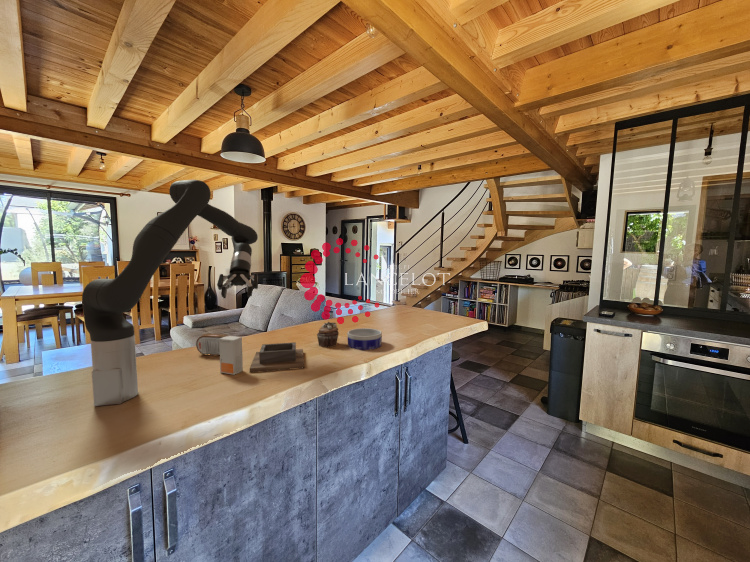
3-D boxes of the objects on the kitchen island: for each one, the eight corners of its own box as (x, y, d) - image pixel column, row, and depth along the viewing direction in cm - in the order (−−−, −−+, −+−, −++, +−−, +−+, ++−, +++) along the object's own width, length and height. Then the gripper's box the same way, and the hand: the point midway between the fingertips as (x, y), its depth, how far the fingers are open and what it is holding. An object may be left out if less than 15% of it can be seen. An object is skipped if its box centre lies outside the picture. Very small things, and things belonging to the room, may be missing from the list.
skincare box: (219, 373, 104) (218, 338, 103) (229, 368, 108) (227, 335, 107) (234, 375, 102) (233, 340, 101) (243, 370, 106) (242, 336, 105)
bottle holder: (303, 368, 109) (303, 352, 108) (249, 372, 104) (249, 356, 104) (303, 352, 126) (302, 339, 126) (256, 355, 122) (256, 342, 121)
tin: (235, 354, 124) (234, 333, 123) (231, 357, 120) (230, 336, 120) (200, 353, 125) (199, 332, 124) (195, 355, 122) (194, 334, 121)
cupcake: (323, 340, 144) (323, 319, 143) (342, 342, 141) (342, 321, 140) (312, 346, 135) (312, 324, 134) (332, 348, 132) (332, 325, 131)
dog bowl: (355, 339, 147) (355, 326, 147) (385, 342, 143) (385, 329, 142) (341, 348, 133) (341, 334, 132) (375, 351, 128) (375, 337, 128)
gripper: (219, 258, 121) (213, 291, 110) (258, 258, 124) (255, 290, 114) (223, 271, 126) (217, 303, 116) (260, 270, 130) (257, 302, 120)
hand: (236, 296), depth 115 cm, fingers open, 8 cm apart
